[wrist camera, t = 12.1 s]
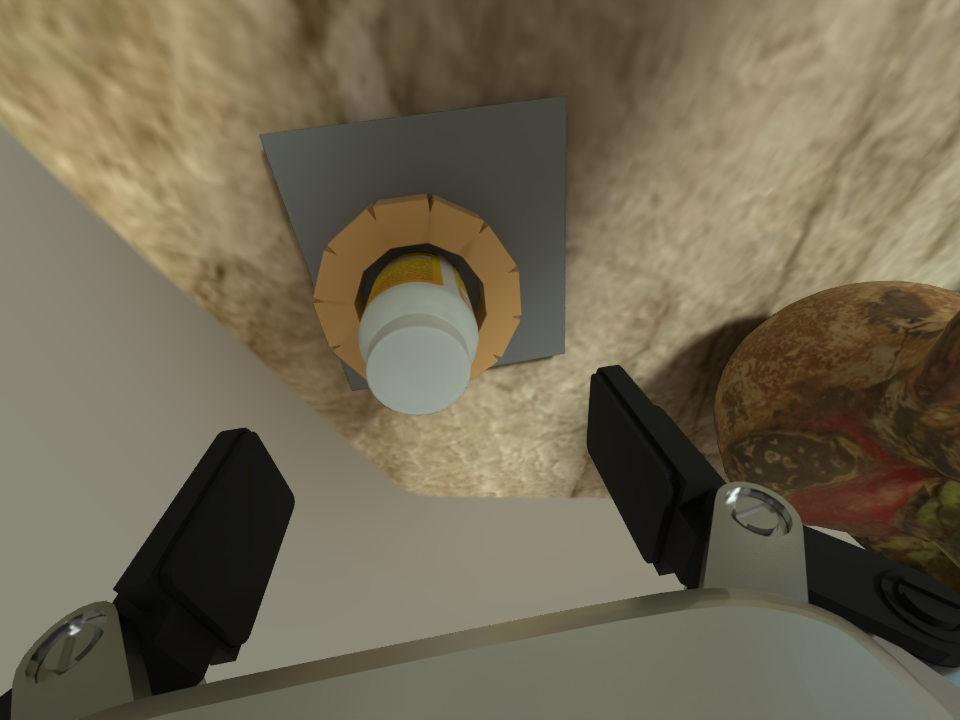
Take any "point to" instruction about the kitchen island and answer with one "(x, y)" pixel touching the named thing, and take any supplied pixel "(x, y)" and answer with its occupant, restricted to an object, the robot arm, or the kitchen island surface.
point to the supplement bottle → (418, 334)
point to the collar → (410, 226)
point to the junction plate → (444, 195)
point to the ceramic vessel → (855, 417)
